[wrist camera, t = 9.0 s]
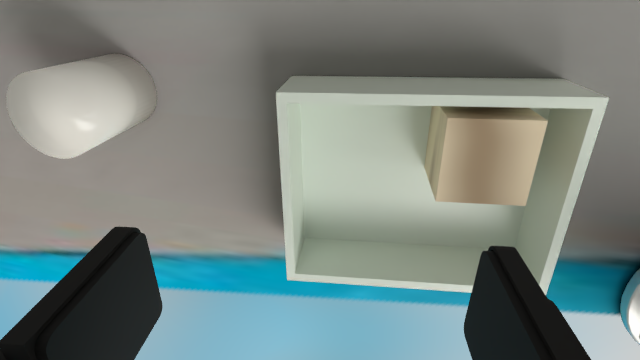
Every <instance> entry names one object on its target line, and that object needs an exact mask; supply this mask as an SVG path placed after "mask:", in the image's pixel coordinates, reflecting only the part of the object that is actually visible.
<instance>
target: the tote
mask: <svg viewBox="0 0 640 360" xmlns="http://www.w3.org/2000/svg"><path fill="white" fill-rule="evenodd" d="M608 100H609V97H607V96H604V95H602V94H600V93H597V92H595V91H592V90H590V89H588V88H585V87H583V86H580V85H578V84H575V83H573V82H571V81H568V80H566V79H550V78H457V77H364V76H291V77H290V78H289V79H288V80H287V81H286V82H285V83H284V84H283V85H282V86H281V87H280V88H279V89H278V91H277V92H276V106H277V122H278V138H279V155H280V171H281V188H282V204H283V221H284V237H285V254H286V270H287V280H295V281H309V282H324V283H338V284H353V285H367V286H381V287H396V288H410V289H425V290H439V291H453V292H468V293H472V289H473V285H474V281H475V277H476V273H477V269H478V265H479V260H480V256H481V253H482V252H483V251H488V249H489V247H490V246H509V247H515V248H516V249H517V251H518V252H519V254H520V256H521V257H522V259H523V260H524V262H525V264H526V265H527V267H528V268H529V270H530V272H531V273H532V275H533V276H534V278H535V280H536V281H537V283H538V284H539V286H540V287H541V289H542V291H543V292H544V294H545V295H546V293H547V290H548V287H549V284H550V281H551V278H552V275H553V272H554V268H555V265H556V262H557V259H558V256H559V253H560V250H561V247H562V244H563V240H564V237H565V234H566V231H567V228H568V225H569V222H570V219H571V216H572V212H573V209H574V206H575V203H576V200H577V197H578V194H579V191H580V188H581V184H582V181H583V178H584V175H585V172H586V169H587V166H588V163H589V160H590V156H591V153H592V150H593V147H594V144H595V141H596V138H597V135H598V132H599V128H600V125H601V122H602V119H603V116H604V113H605V110H606V107H607V104H608ZM432 106H460V107H513V108H530V109H532V110H533V111H534V112H536V113H537V114H539V115H540V116H542V117H543V118H545V119H546V120H548V123H547V127H546V131H545V135H544V138H543V142H542V146H541V150H540V153H539V157H538V161H537V165H536V169H535V172H534V176H533V180H532V184H531V187H530V191H529V195H528V199H527V203H526V206H516V205H497V204H477V203H457V202H437V201H435V198H434V195H433V192H432V189H431V186H430V183H429V180H428V177H427V174H426V171H425V168H424V165H425V157H426V149H427V141H428V133H429V125H430V117H431V109H432Z"/></svg>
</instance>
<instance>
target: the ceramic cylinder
mask: <svg viewBox="0 0 640 360" xmlns="http://www.w3.org/2000/svg"><path fill="white" fill-rule="evenodd" d="M156 103H157V91H156V87H155V84H154V81H153V79H152V77H151V76H150V74H149V73H148V71H147V70H146V69H145V68H144V67H143V66H142V65H141V64H140V63H139V62H137V61H136V60H134V59H133V58H131V57H129V56H126V55H122V54H108V55H104V56H99V57H94V58H89V59H84V60H80V61H75V62H70V63H65V64H61V65H56V66H51V67H46V68H41V69H37V70H32V71H27V72H23V73H21V74H19V75H17V76H16V77H15V78H14V79H13V80H12V81H11V82H10V84H9V86H8V89H7V93H6V106H7V111H8V114H9V117H10V119H11V121H12V123H13V125H14V127H15V128H16V130H17V131H18V133H19V134H20V135H21V136H22V138H23V139H24V140H25V141H26V142H28V143H29V144H30V145H31V146H32V147H34V148H35V149H37V150H38V151H40V152H42V153H44V154H46V155H48V156H51V157H55V158H61V159H68V158H73V157H77V156H79V155H80V154H82V153H84V152H86V151H88V150H90V149H92V148H94V147H96V146H97V145H99V144H101V143H103V142H105V141H107V140H109V139H111V138H113V137H114V136H116V135H118V134H120V133H122V132H124V131H126V130H128V129H129V128H131V127H133V126H135V125H137V124H139V123H141V122H143V121H145V120H146V119H148V118H149V117H150V116H151V115H152V113H153V112H154V110H155V107H156Z"/></svg>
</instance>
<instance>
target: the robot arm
mask: <svg viewBox="0 0 640 360" xmlns="http://www.w3.org/2000/svg"><path fill="white" fill-rule="evenodd" d="M161 311H162V301H161V297H160V293H159V288H158V284H157V280H156V276H155V272H154V268H153V264H152V259H151V255H150V251H149V247H148V243H147V239H146V236H145V234H143V233H141V232H140V230H139V229H138V228H133V227H115V228H113V229H112V230H111V231H110V232H109V233H108V234H107V235H106V236H105V237H104V238H103V239H102V240H101V241H100V242H99V243H98V244H97V245H96V246H95V247H94V248H93V249H92V250H91V251H90V252H89V253H88V254H87V255H86V256H85V257H84V258H83V259H82V260H81V261H80V262H79V263H78V264H77V265H76V266H75V267H74V268H73V269H72V270H71V271H70V272H69V273H68V274H67V275H66V276H65V277H64V278H63V279H62V280H61V281H60V282H58V283H57V284H56V285H55V286H54V288H53V289H52V290H50V292H49V293H47V294H46V295H45V296H44V297H43V298H42V299H41V300H40V301H39V302H38V303H37V304H36V305H35V306H34V307H33V308H32V309H31V311H29V312H28V313H27V314H26V315H25V316H24V317H23V318H22V319H21V320H20V321H19V322H18V323H17V324H16V325H15V326H14V327H13V328H12V329H11V330H10V331H9V332H8V333H7V334H6V335H5V336H4V337H3V338H2V339H1V340H0V360H134V359H135V357H136V355H137V354H138V352H139V351H140V348H141V347H142V346H143V344H144V342H145V340H146V339H147V337H148V335H149V334H150V332H151V330H152V329H153V327H154V325H155V324H156V322H157V320H158V318H159V317H160V314H161ZM620 311H621V318H622V321H623V323H624V325H625V327H626V329H627V331H628V332H629V333H630V335H631V336H632V337H633V339H634V340H635V341H636V342H637V343H638V344H639V345H640V269H639V270H638V271H637V272H636V273H635V274H634V275H633V277H632V278H631V280H630V281H629V283H628V284H627V286H626V288H625V291H624V293H623V295H622V299H621V306H620ZM464 334H465V338H466V341H467V344H468V347H469V351H470V353H471V356H472V359H473V360H591V359H590V357H589V356H588V355H587V353H586V351H585V350H584V348H583V347H582V345H581V343H580V342H579V340H578V339H577V337H576V336H575V334H574V332H573V331H572V329H571V328H570V326H569V325H568V323H567V322H566V320H565V319H564V317H563V315H562V314H561V312H560V311H559V309H558V308H557V306H556V305H555V304H554V303H553V302H552V301H551V300H549V299H547V297H546V295H545V294H544V292H543V291H542V289H541V287H540V286H539V284H538V283H537V281H536V280H535V278H534V276H533V275H532V273H531V272H530V270H529V268H528V267H527V265H526V264H525V262H524V260H523V259H522V257H521V256H520V254H519V252H518V251H517V249H516V248H515V247H509V246H490V247H489V249H488V251H483V252H482V253H481V256H480V260H479V265H478V269H477V273H476V277H475V281H474V285H473V289H472V293H471V297H470V301H469V306H468V310H467V314H466V318H465V322H464Z"/></svg>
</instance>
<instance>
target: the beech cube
mask: <svg viewBox="0 0 640 360" xmlns="http://www.w3.org/2000/svg"><path fill="white" fill-rule="evenodd" d="M547 123H548V120H546V119H545V118H543V117H542V116H540V115H539V114H537V113H536V112H534V111H533V110H532V109H530V108H513V107H460V106H432V109H431V117H430V125H429V133H428V141H427V149H426V157H425V165H424V168H425V171H426V174H427V177H428V180H429V183H430V186H431V189H432V192H433V195H434V198H435V201H437V202H457V203H477V204H497V205H516V206H526V203H527V199H528V195H529V191H530V187H531V184H532V180H533V176H534V172H535V169H536V165H537V161H538V157H539V153H540V150H541V146H542V142H543V138H544V135H545V131H546V127H547Z"/></svg>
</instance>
